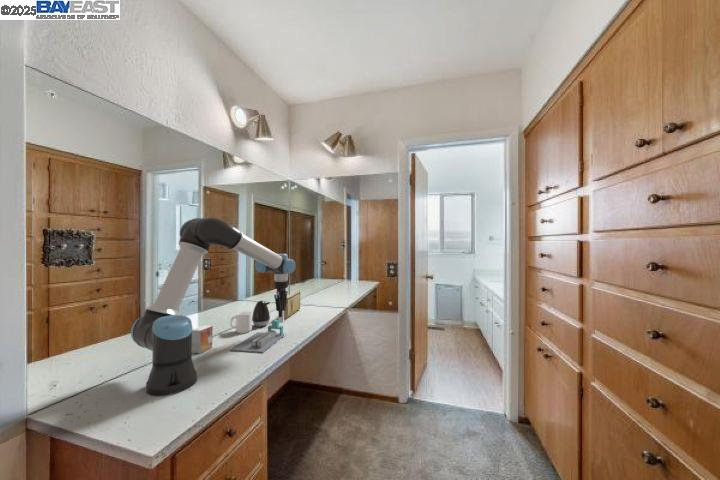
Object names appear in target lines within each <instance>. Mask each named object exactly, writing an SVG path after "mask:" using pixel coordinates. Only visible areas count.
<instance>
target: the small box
mask: <svg viewBox="0 0 720 480" xmlns="http://www.w3.org/2000/svg"><path fill="white" fill-rule="evenodd" d="M212 348H213V325H204V324H203V325H200V326H198V327H196V328H192V354H202V353H204V352H206V351H207V350H210V349H212Z"/></svg>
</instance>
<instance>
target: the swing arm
mask: <svg viewBox="0 0 720 480" xmlns="http://www.w3.org/2000/svg"><path fill="white" fill-rule="evenodd" d="M263 333H264V334H262V335H261V336H259V337H258V338H256V339H254V340H253V341H252V347H254V348H256V347H257V341H259V340H260V339H262V338H263V337H265V336H266V335H268V334H269V333H271V332H268V331H266V332H263Z"/></svg>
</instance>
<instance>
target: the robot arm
mask: <svg viewBox="0 0 720 480" xmlns="http://www.w3.org/2000/svg"><path fill="white" fill-rule="evenodd" d="M179 236H180V238H179V241H178V245H179V248H180V249H179V251H178V253H177V255H176V257H175V259H174V261H173V263H172V265H171V267H170V270H169V271H168V274H167V276H166V278H165V280H164V282H163V284H162V286H161V288H160V290H159V292H158V294H157V297H156V299H155V300H154V303H153V305H150V306H149V307H148V306H147V308H146V309H145V311H144V313H143V315H142V316H140V317H139V318H138V319H136V320H135V321H134V323H133V324H132V326H131V329H130V337H131V339H132V340H133V342H134V343H135V344H136V345H137V346H139V347H141V348H143V349H147V350H150V351H152V358H151V359H152V361H151V362H152V367H151V370H150V372H149V375H148V379H147V381H146V384H145V394H147V395H149V396H153V397H158V396H159V397H160V396H161V397H162V396H168V395H172V394H173V395H174V394H177V393H179V392H183V391H185V390H187V389H188V388H191V387H192V386H193V385H195V384H196V382H197V381H198V372H197V370H196V369H195V365H194V362H193V358H192V354H193V353H192V329H193V325H192V324H193V323H192V319H191V318H190V317H188V316H185V315H181V314H180V312H179V309H180V306H181V304H182V302H183V300H184V298H185V296H186V293H187V290H188V288H189V286H190V284H191V282H192V280H193V278H194V275H195V273H196V271H197V268H198V266H199V264H200V262H201V260H202V257H203V256H204V255H205V254H206V255H207V254H208V253H209V251H210V249H211V247H212V246H216V247H217V246H218V247H222V248H225V249H227V250H229V251H230V250H231V251H232V250H234V251H237V252H239V253H240V254H242V255H245V256H246V257H248V258H251V259H252V260H254V261H255V264H254V265H255V266H254V267H255V270H256V271H257V272H258V273H261V274H262V273H264V274H265V273H273V274H274V275H273V280H274V282H273V283H274V287H273V288H274V289H276V292H275V293H276V294H274V300H275V301H274V303H275V308H276V312H278V316H277V317H278V319H277V320H279V324H282V323H285V319H284V310H286V309H285V308H286V301H287V296H288V290H287V288H288V287H289V274H292V273H294V271H295V270H296V262H295V260H294V259H292V258H289V257H288V254H287V253H276V252H274V251H272V250H271V249H269V248H268V247H266V246H264V245H262V244H261V243H259V242H257V241H256V240H253V239H252V238H250V237H249V236H247V235H246V234H244V233H243V231H242V230H241V229H240V228H238V227H236V226H234V225H232V224H230V223H229V222H227V221H225V220H223V219H220V218H217V217H211V216H210V217H202V218H199V217H196V218H192V219H189V220H187V221H185V222H184V223H183V224H182V225H181V226H180V228H179ZM286 290H287V291H286Z"/></svg>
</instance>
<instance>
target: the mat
mask: <svg viewBox="0 0 720 480" xmlns="http://www.w3.org/2000/svg"><path fill="white" fill-rule="evenodd" d="M264 333H265V332H264V331H263V332H256V333H254V334H252V335H251V336H249V337H248V338H246V339H244V340H242V341H240V342H239V343H238V344H236V345H234V346H233V347H231V348H229V350H228V351H229V352H238V353H239V352H240V353H254V352H258V353H257V354H259V353H260V354H264V353H265V352H266V351H268V350H269V349H270V348H272V347H273V346H274V345H276V344H277V343H278V342H279V341H280V339H281V338H282V337H283V336H284V334H285V333H283V334H282V335H280V332H276V338H274V339H273V340H271V341H270V342H269V343H267V344H266V345H265V346H263V347H262V348H257V347H256V348H254V347H252V341H253V340H254V339H256V338H258V337H259V336H261V335H262V334H264ZM284 337H285V336H284ZM284 337H283V338H284ZM283 338H282V339H283ZM282 339H281V340H282ZM278 340H279V341H278ZM277 341H278V342H277ZM276 342H277V343H276ZM273 344H274V345H273ZM272 345H273V346H272ZM271 346H272V347H271ZM268 348H269V349H268ZM267 349H268V350H267ZM263 352H264V353H263Z"/></svg>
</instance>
